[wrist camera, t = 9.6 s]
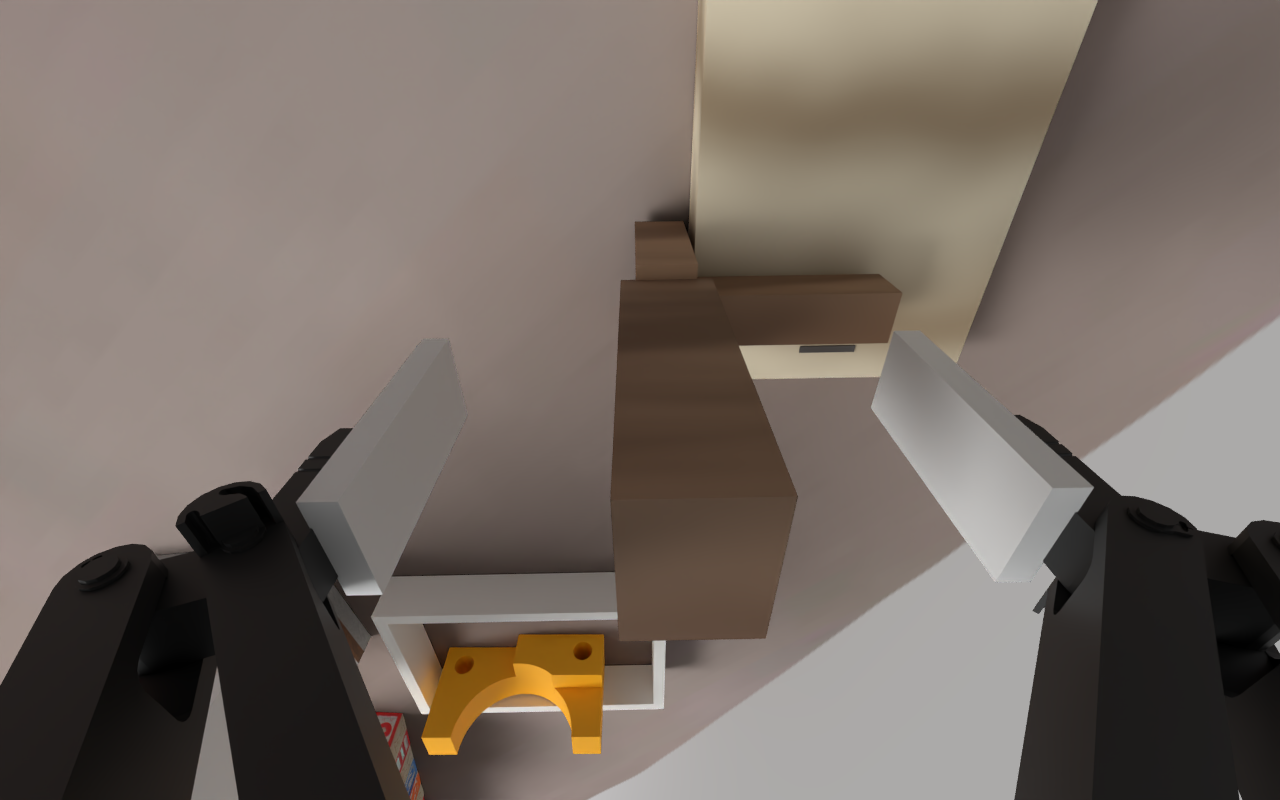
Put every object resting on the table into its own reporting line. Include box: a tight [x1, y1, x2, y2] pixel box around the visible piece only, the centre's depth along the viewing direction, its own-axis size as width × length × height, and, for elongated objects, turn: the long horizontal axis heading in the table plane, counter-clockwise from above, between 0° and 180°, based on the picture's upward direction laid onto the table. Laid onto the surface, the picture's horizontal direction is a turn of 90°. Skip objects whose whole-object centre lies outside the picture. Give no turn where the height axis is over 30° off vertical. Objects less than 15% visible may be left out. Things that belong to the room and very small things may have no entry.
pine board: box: [688, 0, 1098, 379], centre depth 17 cm, size 22×12×3 cm, turn 1°
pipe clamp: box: [421, 634, 605, 755], centre depth 36 cm, size 12×4×6 cm, turn 89°
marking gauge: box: [610, 221, 902, 641], centre depth 16 cm, size 5×10×16 cm, turn 91°
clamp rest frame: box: [371, 572, 666, 714], centre depth 36 cm, size 13×19×3 cm
